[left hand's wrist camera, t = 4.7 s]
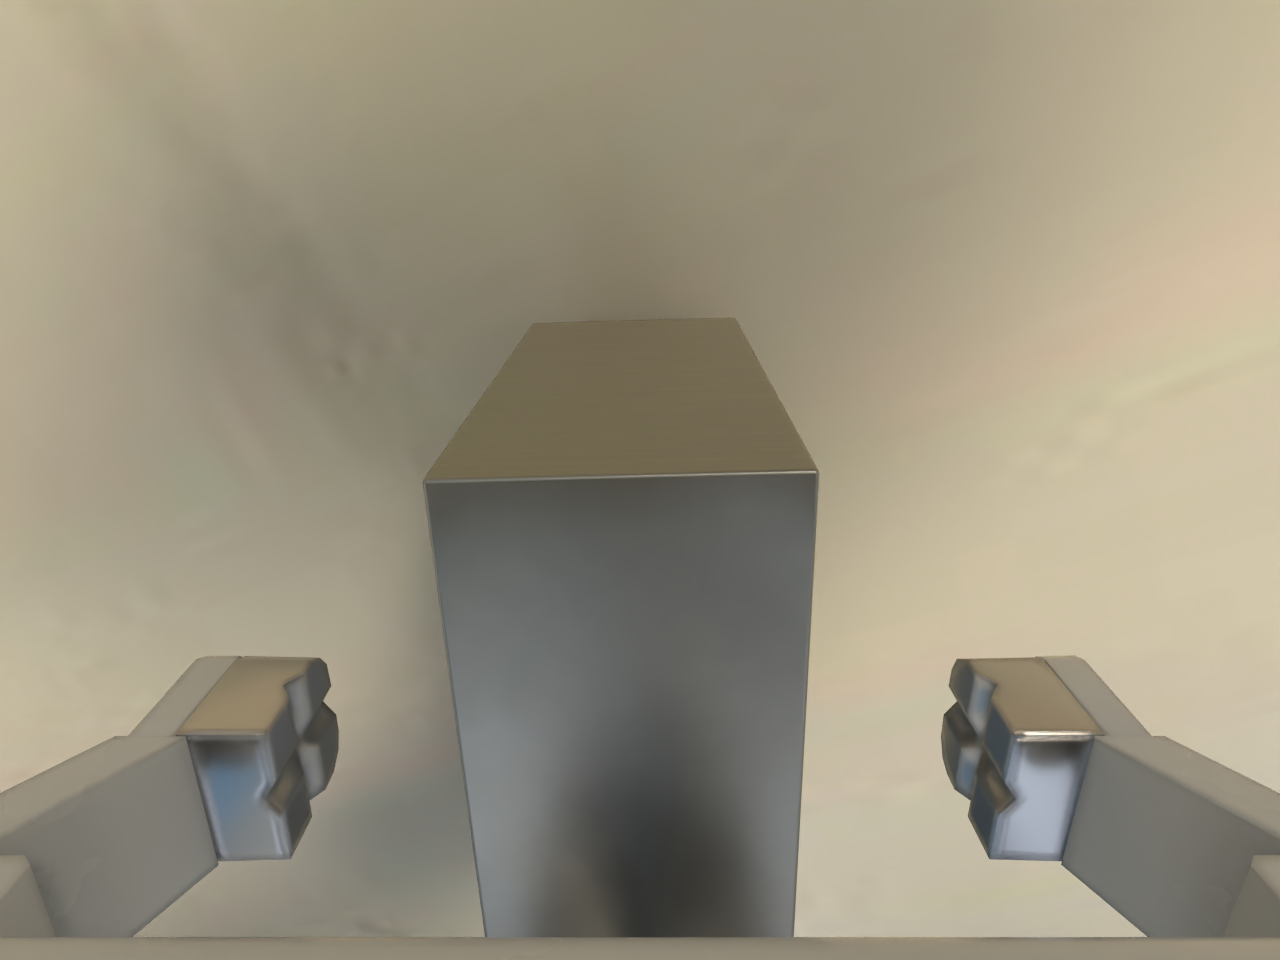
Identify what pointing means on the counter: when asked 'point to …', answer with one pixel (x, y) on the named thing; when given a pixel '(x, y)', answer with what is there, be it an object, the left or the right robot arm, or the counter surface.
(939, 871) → the counter surface
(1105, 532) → the counter surface
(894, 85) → the counter surface
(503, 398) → the box
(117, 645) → the counter surface
